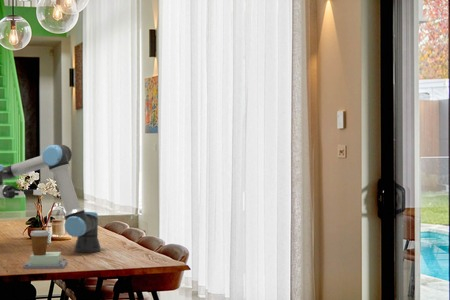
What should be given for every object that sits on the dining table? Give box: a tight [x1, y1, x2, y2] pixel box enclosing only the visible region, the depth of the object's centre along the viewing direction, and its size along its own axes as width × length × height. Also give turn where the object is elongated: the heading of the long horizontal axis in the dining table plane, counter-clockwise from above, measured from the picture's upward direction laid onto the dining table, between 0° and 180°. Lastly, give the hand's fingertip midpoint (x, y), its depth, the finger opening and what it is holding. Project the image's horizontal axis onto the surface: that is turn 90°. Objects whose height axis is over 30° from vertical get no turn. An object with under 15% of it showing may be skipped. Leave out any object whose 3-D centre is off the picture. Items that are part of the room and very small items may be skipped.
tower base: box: [22, 251, 68, 270], centre depth 401 cm, size 20×20×6 cm
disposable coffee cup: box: [29, 229, 50, 255], centre depth 399 cm, size 10×10×12 cm
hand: (32, 193), depth 433 cm, fingers open, 13 cm apart
